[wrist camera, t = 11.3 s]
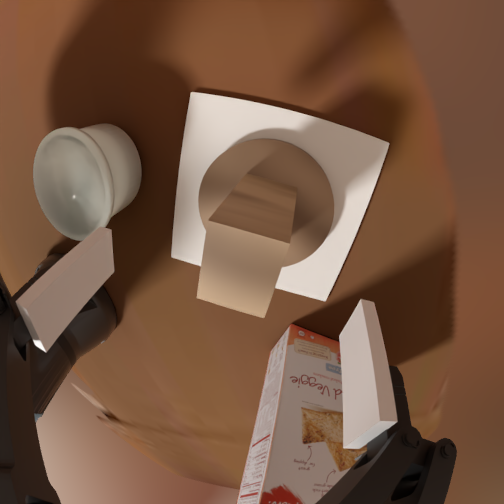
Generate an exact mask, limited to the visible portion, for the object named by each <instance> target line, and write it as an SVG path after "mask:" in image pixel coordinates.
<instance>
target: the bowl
mask: <svg viewBox="0 0 504 504" xmlns="http://www.w3.org/2000/svg"><path fill="white" fill-rule="evenodd" d="M141 176H142V169H141V162H140V157H139V154H138V151H137V149H136V146H135V144H134V143H133V141H132V140H131V138H130V137H129V136H128V135H127V134H126V133H125V132H124V131H123V130H122V129H120V128H119V127H117V126H114V125H112V124H97V125H93V126H89V127H85V128H81V129H78V128H75V127H64V128H60V129H56V130H54V131H52V132H50V133H49V134H48V135H47V136H46V137H45V138H44V139H43V140H42V142H41V143H40V145H39V147H38V149H37V152H36V155H35V159H34V166H33V180H34V187H35V192H36V195H37V199H38V201H39V204H40V206H41V208H42V210H43V212H44V214H45V216H46V217H47V219H48V220H49V221H50V223H51V224H52V225H53V226H54V227H55V228H56V229H57V230H58V231H59V232H60V233H62V234H63V235H65V236H66V237H69V238H71V239H74V240H79V241H83V240H84V239H85V238H86V237H88V236H89V235H90V234H91V233H93V232H94V231H95V230H97V229H98V228H99V227H100V226H101V227H104V228H105V227H106V226H107V224H108V223H109V221H110V218H111V217H112V216H114V215H115V214H117V213H118V212H119V211H121V210H122V209H124V208H125V207H126V206H128V205H129V204H130V203H131V202H132V201H133V200H134V198H135V197H136V195H137V193H138V190H139V187H140V183H141Z"/></svg>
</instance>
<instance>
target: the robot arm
mask: <svg viewBox="0 0 504 504" xmlns="http://www.w3.org/2000/svg"><path fill="white" fill-rule="evenodd" d="M113 273H114V260H113V247H112V230H111V229H108V228H104V227H101V226H100V227H99V228H98V229H97V230H95V231H94V232H93V233H91V234H90V235H89V236H88V237H86V238H85V239H84V240H83V241H82V242H80V243H79V244H78V245H77V246H75V247H74V248H73V249H72V250H71V251H70V252H68V253H67V254H66V255H64V254H60V253H55V254H51V255H50V256H48V257H47V258H46V259H45V260H44V261H42V262H41V263H40V264H39V265H38V267H37V269H36V271H35V275H34V277H32V278H31V279H30V280H29V281H28V283H26V284H25V285H24V286H23V287H22V288H21V289H20V290H19V291H18V292H17V293H15V294H14V295H13V296H11V294H10V292H9V290H8V288H7V286H6V284H5V282H4V280H3V278H2V276H1V274H0V504H61V503H60V500H59V497H58V495H57V493H56V491H55V489H54V488H53V487H52V486H51V484H50V482H49V480H48V477H47V473H46V470H45V466H44V462H43V458H42V454H41V450H40V444H39V440H38V434H37V429H36V422H37V420H38V418H39V417H42V415H43V413H44V411H45V409H46V407H47V406H48V404H49V403H50V401H51V399H52V398H53V396H54V395H55V393H56V391H57V390H58V388H59V387H60V385H61V384H62V382H63V380H64V379H65V377H66V376H67V374H68V373H69V371H70V370H71V368H72V367H73V365H74V364H75V363H76V361H77V360H78V359H79V358H80V357H81V356H83V355H84V354H86V353H87V352H89V351H90V350H92V349H93V348H95V347H96V346H98V345H99V344H100V343H103V342H104V341H106V340H107V339H108V337H109V336H110V335H111V333H112V332H113V330H114V329H115V327H116V323H117V317H116V312H115V308H114V306H113V303H112V301H111V299H110V297H109V295H108V294H107V292H106V290H105V289H104V287H103V286H102V285H103V284H104V282H105V281H106V280H107V279H108V278H109V277H110V276H111V275H112V274H113ZM339 341H340V355H341V371H342V394H343V448H348V449H360V448H361V447H363V446H364V445H366V444H367V451H366V452H364V453H363V454H361V455H359V456H358V457H356V458H355V460H357V462H356V463H355V464H354V465H353V466H352V467H351V468H350V469H349V471H348V472H347V473H346V474H345V475H344V476H343V477H342V478H341V479H340V480H339V481H338V482H337V483H336V484H335V485H334V486H333V487H332V488H331V489H330V490H329V491H328V492H327V493H326V494H325V495H324V496H323V497H322V498H321V499H320V500H319V501H317V502H316V503H315V504H444V501H445V498H446V495H447V492H448V488H449V485H450V481H451V477H452V473H453V469H454V465H455V460H456V453H457V450H456V446H455V444H454V443H453V442H452V441H451V440H450V439H447V438H443V439H441V440H439V441H437V442H436V443H434V442H432V441H429V440H426V439H423V438H422V437H421V435H420V432H419V431H418V430H417V429H416V428H414V427H412V426H411V421H410V415H409V409H408V403H407V397H406V396H405V395H406V392H405V388H404V382H403V377H402V375H401V373H400V371H399V370H398V368H397V367H395V366H389V365H388V360H387V355H386V350H385V346H384V341H383V337H382V332H381V328H380V324H379V320H378V316H377V312H376V308H375V304H374V302H371V301H367V300H363V299H360V301H359V303H358V305H357V306H356V308H355V310H354V312H353V313H352V315H351V317H350V319H349V320H348V322H347V324H346V325H345V327H344V329H343V330H342V332H341V334H340V335H339Z"/></svg>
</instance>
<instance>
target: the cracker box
mask: <svg viewBox="0 0 504 504" xmlns="http://www.w3.org/2000/svg"><path fill="white" fill-rule="evenodd" d="M366 451H367V444H366V445H364V446H363V447H361V448H360V449H348V448H343V394H342V371H341V355H340V342H338V341H335V340H332V339H330V338H327V337H324V336H322V335H319V334H317V333H314V332H311V331H309V330H306V329H304V328H301V327H299V326H296V325H294V324H290V326H289V327H288V329H287V330H286V331H285V333H284V334H283V335H282V337H281V338H280V339H279V341H278V342H277V343H276V345H275V346H274V347H273V349H272V350H271V352H270V356H269V361H268V366H267V371H266V376H265V380H264V385H263V390H262V394H261V399H260V404H259V408H258V413H257V417H256V422H255V427H254V431H253V435H252V440H251V444H250V448H249V453H248V457H247V461H246V465H245V470H244V474H243V478H242V482H241V486H240V491H239V495H238V498H237V502H236V504H315V503H316V502H317V501H319V500H320V499H321V498H322V497H323V496H324V495H325V494H326V493H327V492H328V491H329V490H330V489H331V488H332V487H333V486H334V485H335V484H336V483H337V482H338V481H339V480H340V479H341V478H342V477H343V476H344V475H345V474H346V473H347V472H348V471H349V469H350V468H351V467H352V466H353V465H354V464H355V463H356V462H357V460H355V458H356V457H358V456H359V455H361V454H363V453H364V452H366Z"/></svg>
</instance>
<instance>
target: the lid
mask: <svg viewBox="0 0 504 504" xmlns="http://www.w3.org/2000/svg"><path fill="white" fill-rule="evenodd" d="M198 206H199V213H200V217H201V220H202V223H203V226H204V228H205V230H206V235H205V242H204V249H203V255H202V262H201V270H200V277H199V285H198V292H197V298H199V299H202V300H205V301H208V302H211V303H215V304H218V305H221V306H224V307H228V308H231V309H234V310H237V311H241V312H244V313H248V314H251V315H254V316H258V317H261V318H264V317H265V314H266V312H267V309H268V306H269V303H270V300H271V298H272V295H273V292H274V289H275V286H276V283H277V280H278V278H279V275H280V272H281V269H282V267H287V266H291V265H293V264H296V263H298V262H301V261H303V260H304V259H306V258H307V257H309V256H310V255H312V254H313V253H314V252H315V251H316V250H317V249H318V248H319V247H320V246H321V245H322V244H323V242H324V241H325V239H326V238H327V236H328V234H329V231H330V229H331V226H332V223H333V218H334V198H333V193H332V189H331V186H330V182H329V180H328V178H327V176H326V174H325V172H324V171H323V169H322V167H321V166H320V165H319V164H318V162H317V161H316V160H315V159H314V158H313V157H312V156H311V155H309V154H308V153H307V152H305V151H304V150H303V149H301V148H299V147H297V146H295V145H293V144H291V143H288V142H285V141H282V140H277V139H267V138H262V139H253V140H248V141H245V142H242V143H239V144H237V145H235V146H233V147H231V148H230V149H228V150H226V151H225V152H224V153H222V154H221V155H219V156H218V157H217V158H216V159H215V160H214V161H213V162H212V164H211V165H210V166H209V168H208V169H207V171H206V173H205V174H204V176H203V179H202V182H201V184H200V189H199V196H198Z"/></svg>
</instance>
